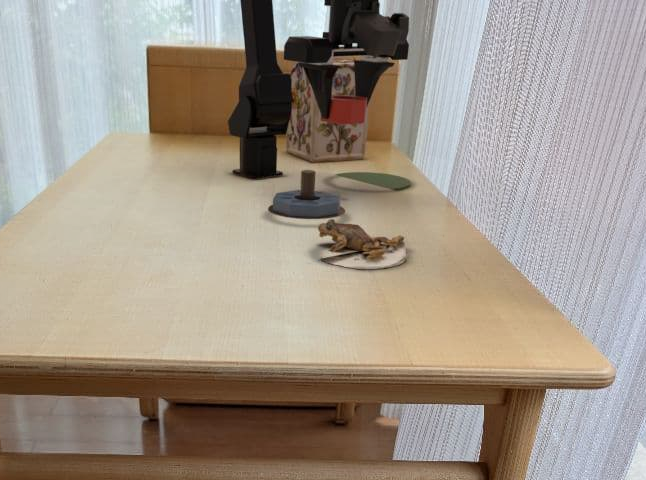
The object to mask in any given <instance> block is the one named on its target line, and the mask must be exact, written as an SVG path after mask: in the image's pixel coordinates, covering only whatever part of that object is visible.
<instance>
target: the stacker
mask: <svg viewBox="0 0 646 480" xmlns="http://www.w3.org/2000/svg"><path fill="white" fill-rule="evenodd" d="M316 174H317V173H316V170H313V169H303V170H301V172H300V189H299V190H300V200H309V201H312V200H314V195H315V191H316ZM267 211H268V212H269V213H271V214H273V215H275V216H278V217H282V218H283V217H284V218H287V219H299V220H325V219H333V218H337V217H341V216H343V215H345V214H346V209H345V208H344V207H342V206H340V209H339V213H338V214H336V215H330V216H324V217H318V218H314V217H296V216H288V215H285V214H282V213H279V212H276V211H273V204H271V205H269V206H268V207H267Z"/></svg>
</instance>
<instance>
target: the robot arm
mask: <svg viewBox="0 0 646 480" xmlns="http://www.w3.org/2000/svg"><path fill="white" fill-rule="evenodd" d="M323 5H324V6H325V7H329V19H328V31H322V37H318V36H311V35H310V36H309V35H301V36H297V35H295V36H293V35H292V36H288V38H287V40H286V41H285V43H284V44H283V60H284V61H289V62H296V63H297V62H298V66H299V67H303V69H304V71H305V73H306V76H307V78H308V80H309V82H310V85H311V87H312V90H313V92H314V95H315V98H316V101H317V104H318V107H319V110H320V113H321V116H322V118H323V119H328V118H329V113H330V107H331V95H332V83H333V77H334V75H335V73H336V72H337V70H338V68H339V65H333V57H334V56H343V57H358V56H359V57H360V59H353V60H354V72H355V95H356V96H361V97H367V106H368V103H369V104H370V102H369V101H371V99H372V96H373V94H374V90H375V89H376V86H377V84H378V82H379V79H380V78H381V76H382V75H383V74H384V73H385V72H386V71H387V70H388V69H390V68H393V67H394V66H395V64H396V63H395V62H393V61H405V60H406V61H407V60H408V59H409V49H410V43H409V41H408V35H409V31H410V16H408V15H407V14H405V13H404V12H394V13H393V14H391V16H387V15H383V14H381V11H380V7H381V3H380V0H324V4H323ZM240 11H241V22H242V34H243V43H244V55H245V69H244V72H243V75H242V77H241V80H240V82H239V85H238V102H237V104H236V106H235V108H234V109H233V111H232V113H231V115H230V116H229V118H228V120H227V126H228V131H229V135H230V136H232V137H233V136H234V137H237V138H239V168H235V169H234V168H233V169H231V170H232V174H235V175H238V176H243V177H245V178H249V179H254V180H255V179H256V180H257V179H264V178H270V177H278V176H283V175H284V172H283V171H280V170H277V169H278V168H277V166H278V147H277V142H278V141H277V140H278V139H277V138H278V137H277V136H286V132H287V128H288V124H289V120H290V116H291V113H292V102H294V99H293V96H292V79H291V76H290V72H289V73H287V72H286V73H284V72H283V70H282V69H281V67H280V65H279V63H278V55H277V41H276V31H275V17H274V5H273V0H240ZM354 44H356V45H354ZM390 59H391V61H389V60H390ZM366 108H367V107H366Z"/></svg>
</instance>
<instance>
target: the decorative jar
mask: <svg viewBox="0 0 646 480" xmlns="http://www.w3.org/2000/svg"><path fill="white" fill-rule="evenodd" d="M354 60H355V59H353V58H344V56H334V57H333V65H339V68H338V70H337V72H336V73H335V75H334V77H333V83H332V95H355V72H354ZM289 74H290V76H291V79H292V96H293V99H294V102H292V113H291V116H290V120H289V124H288V128H287V132H286V135H285V136H286V137H285V139H286V140H285V144H286V145H285V147H286V149H285V150H286V152H287V153H288V154H290V155H294V156H296V157H299V158H301V159H304V160H305V161H308V162H311V163H322V162H323V163H324V162H341V161H342V162H343V161H356V160H358V161H359V160H364V159H365V154H366V146H367V136H368V127H369V113H370V111H369V110H370V101H371V100H370V101H369V103H368V106H367V108H366V118H365V122H364V123H358V124H337V123H329V122H324V121H320V118H321V113H320V110H319V107H318V104H317V101H316V98H315V95H314V92H313V90H312V87H311V85H310V82H309V80H308V78H307V76H306V73H305V71H304V69H303V67H299V66H298V62H296V63H295V64H294V65H293V67H292V68H291V69H290V72H289Z"/></svg>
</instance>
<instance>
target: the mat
mask: <svg viewBox="0 0 646 480" xmlns="http://www.w3.org/2000/svg"><path fill="white" fill-rule="evenodd" d="M333 175H334V176H338V177H341V178H344V179H348V180H353V181H357V182H360V183H364V184H369V185H372V186H376V187H380V188H384V189H388V190H391V191H396V192H397V191H402V190H406V189H408V188H409V187H411V180H410V179H408V178H405V177H403V176H400V175H395V174H390V173H382V172H372V171H371V172H368V171H353V172H352V171H350V172H349V171H348V172H339V173H334V174H333Z"/></svg>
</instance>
